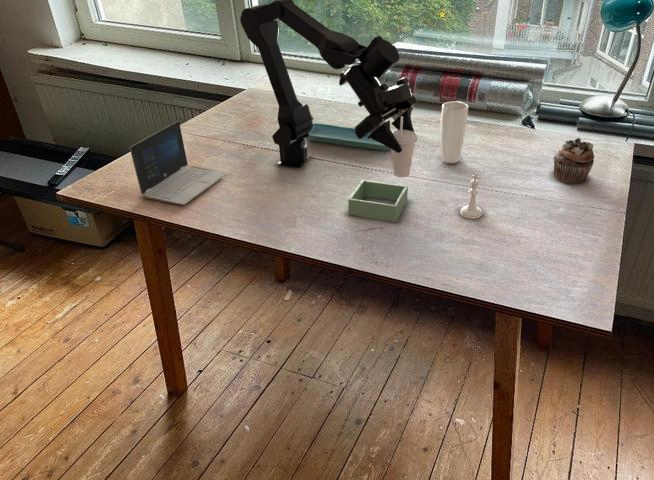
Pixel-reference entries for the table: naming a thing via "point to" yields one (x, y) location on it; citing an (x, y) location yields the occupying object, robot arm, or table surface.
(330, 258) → the table surface
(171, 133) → the laptop
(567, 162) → the cupcake
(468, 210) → the chess piece
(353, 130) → the shallow long dish
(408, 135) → the smoothie
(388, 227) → the table surface
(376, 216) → the green open tray
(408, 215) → the table surface
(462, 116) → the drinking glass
